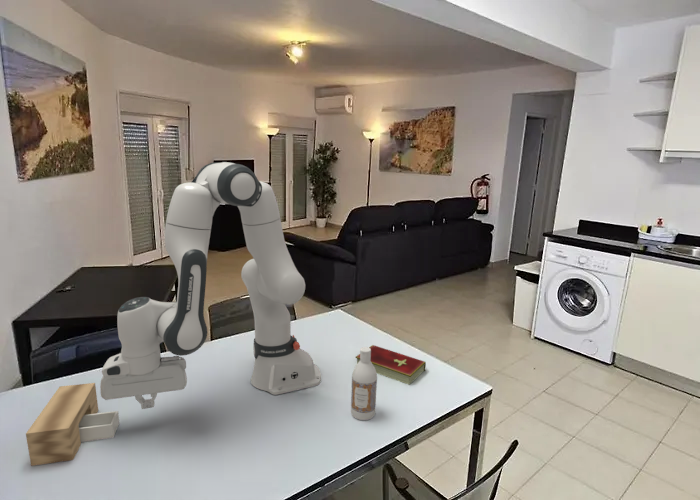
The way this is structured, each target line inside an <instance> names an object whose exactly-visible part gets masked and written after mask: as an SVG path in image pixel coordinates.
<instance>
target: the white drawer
mask: <svg viewBox="0 0 700 500" xmlns="http://www.w3.org/2000/svg"><path fill="white" fill-rule="evenodd" d="M119 416H120V415H119V410H115V411H114V410H113V411H105V412H97V413H96V414H88V415H84V416H83V418H82V419H81V421H80V423H79V425H78V426H79V433H80V441H81V443H84V442H92V441H98V440H99V441H100V440H107V439H113V438H115V435H116V433H117V431H118V428H119V426H120V417H119Z"/></svg>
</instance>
